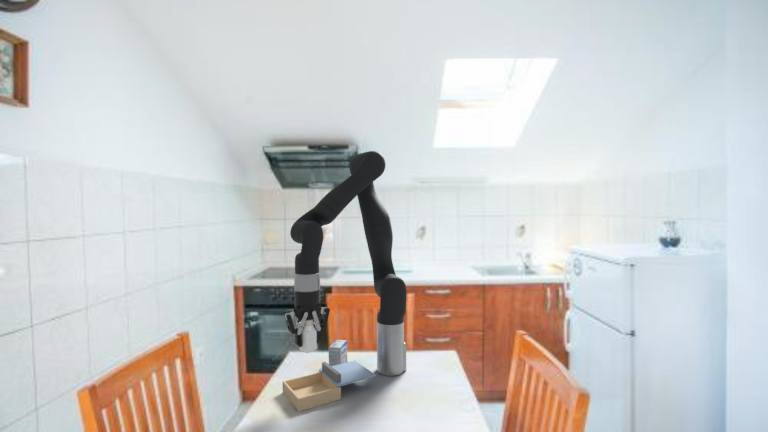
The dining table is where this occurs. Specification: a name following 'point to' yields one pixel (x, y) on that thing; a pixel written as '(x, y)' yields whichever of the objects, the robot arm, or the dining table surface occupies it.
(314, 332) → the pepper shaker
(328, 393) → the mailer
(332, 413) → the dining table surface
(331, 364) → the medicine box
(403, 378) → the dining table surface
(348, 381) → the lid
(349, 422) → the dining table surface
